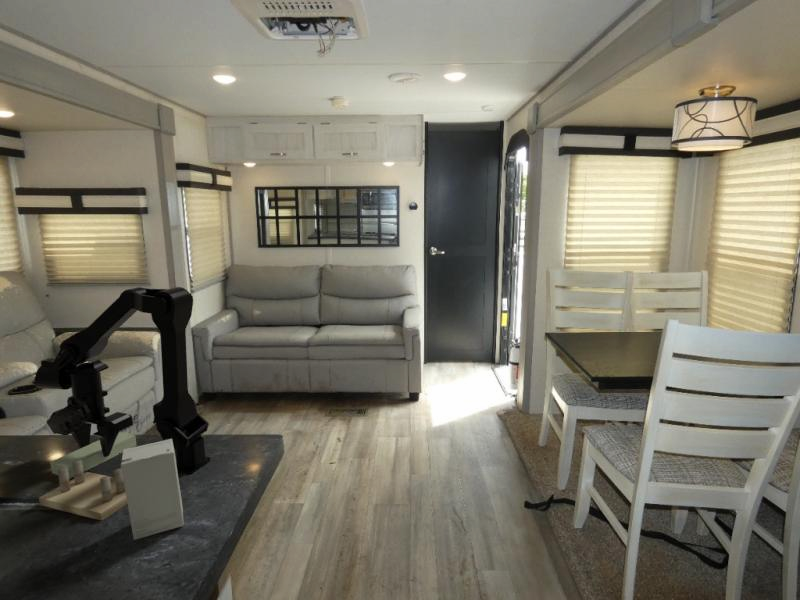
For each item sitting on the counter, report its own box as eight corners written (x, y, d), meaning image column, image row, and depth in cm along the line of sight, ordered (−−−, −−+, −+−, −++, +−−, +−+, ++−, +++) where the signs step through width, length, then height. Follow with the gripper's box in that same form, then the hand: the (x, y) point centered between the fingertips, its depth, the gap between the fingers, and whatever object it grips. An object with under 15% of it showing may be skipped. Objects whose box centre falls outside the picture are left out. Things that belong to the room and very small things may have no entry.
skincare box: (182, 510, 90) (175, 436, 88) (184, 528, 85) (176, 450, 82) (132, 522, 87) (122, 446, 84) (130, 542, 81) (120, 462, 79)
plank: (119, 442, 119) (118, 431, 118) (136, 446, 116) (135, 435, 116) (52, 474, 104) (50, 462, 104) (70, 480, 102) (68, 467, 101)
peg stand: (146, 490, 97) (143, 463, 96) (102, 520, 87) (97, 490, 86) (87, 478, 102) (84, 452, 101) (40, 505, 93) (35, 476, 91)
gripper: (20, 398, 103) (31, 465, 106) (84, 408, 97) (94, 479, 100) (70, 381, 113) (78, 442, 116) (130, 389, 107) (138, 453, 110)
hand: (96, 454), depth 110 cm, fingers closed on plank, 6 cm apart
